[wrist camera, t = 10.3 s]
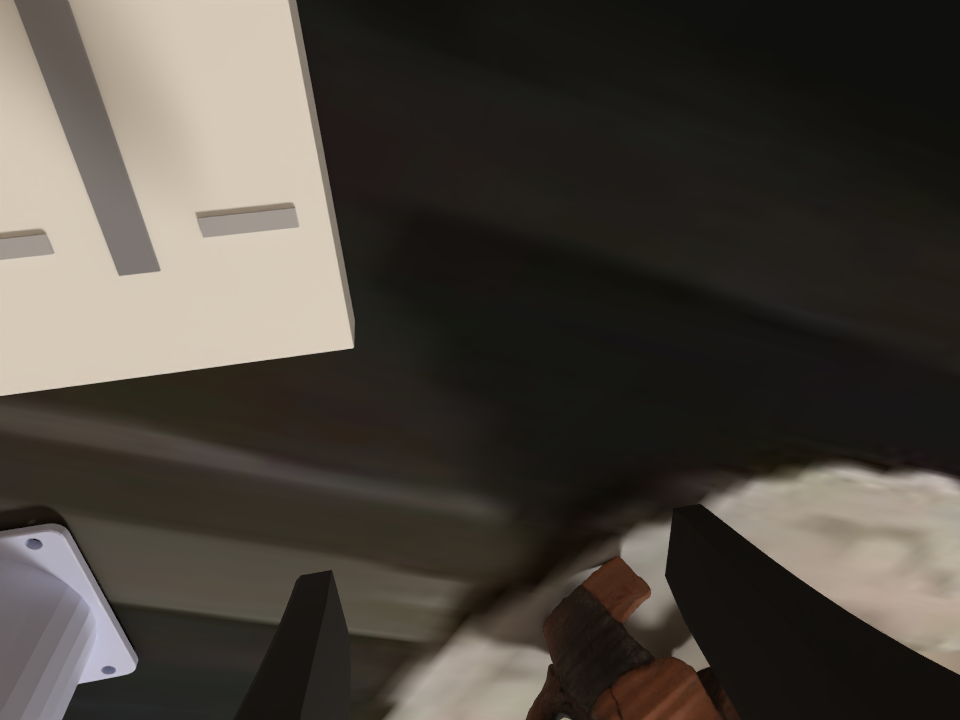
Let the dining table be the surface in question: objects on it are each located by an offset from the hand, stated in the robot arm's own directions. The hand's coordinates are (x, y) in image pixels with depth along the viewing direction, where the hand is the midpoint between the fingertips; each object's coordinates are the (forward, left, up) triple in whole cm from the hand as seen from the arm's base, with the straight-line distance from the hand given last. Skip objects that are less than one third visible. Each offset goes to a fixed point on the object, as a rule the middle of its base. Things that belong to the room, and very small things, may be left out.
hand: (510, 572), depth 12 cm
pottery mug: (+7, -16, -10) cm, 20 cm away
